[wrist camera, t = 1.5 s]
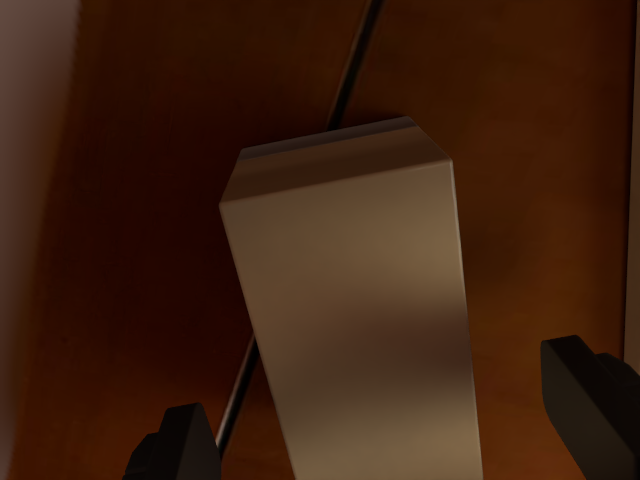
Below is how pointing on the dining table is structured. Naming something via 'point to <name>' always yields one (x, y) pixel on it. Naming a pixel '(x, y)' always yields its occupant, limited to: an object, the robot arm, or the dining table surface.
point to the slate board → (634, 228)
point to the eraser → (359, 301)
